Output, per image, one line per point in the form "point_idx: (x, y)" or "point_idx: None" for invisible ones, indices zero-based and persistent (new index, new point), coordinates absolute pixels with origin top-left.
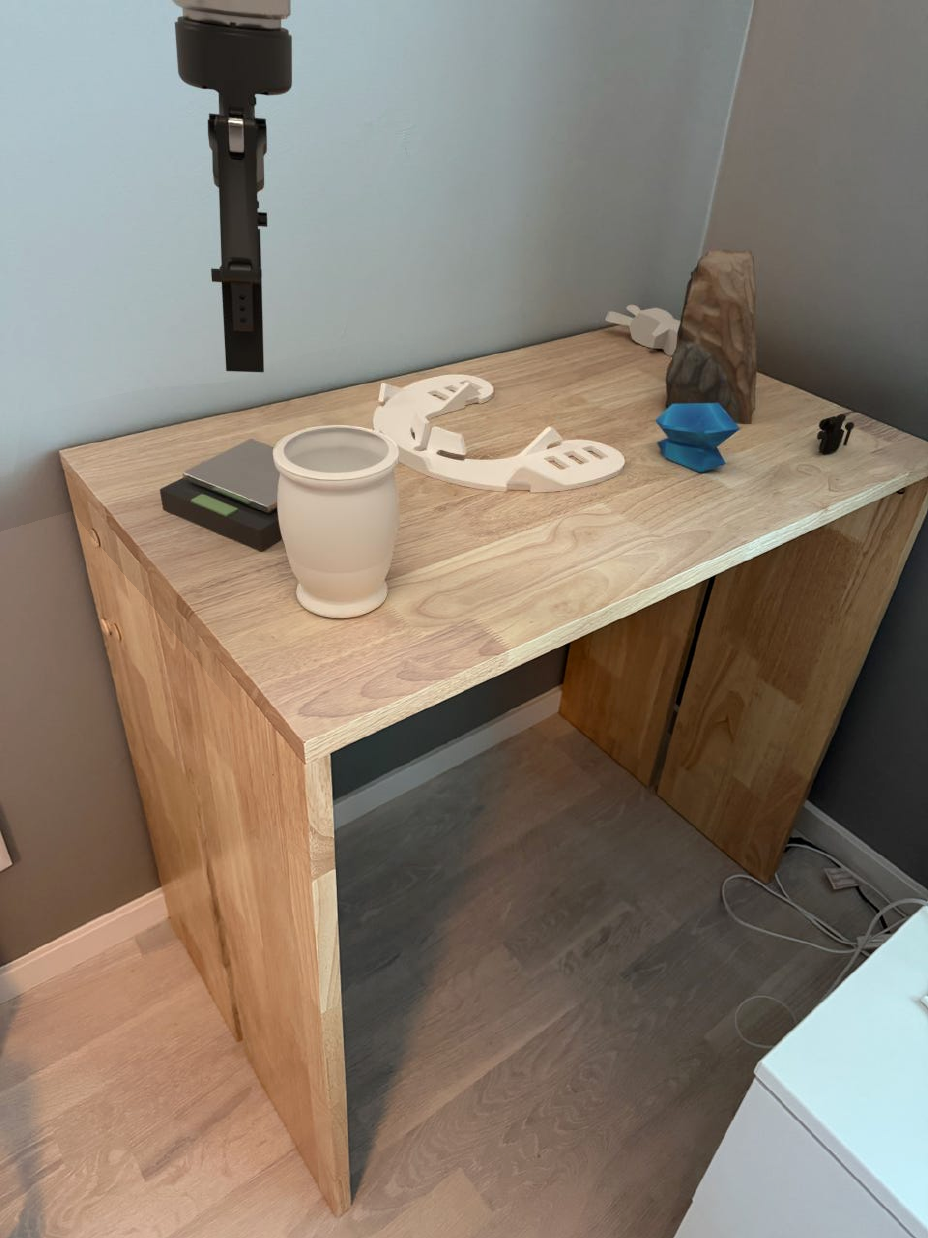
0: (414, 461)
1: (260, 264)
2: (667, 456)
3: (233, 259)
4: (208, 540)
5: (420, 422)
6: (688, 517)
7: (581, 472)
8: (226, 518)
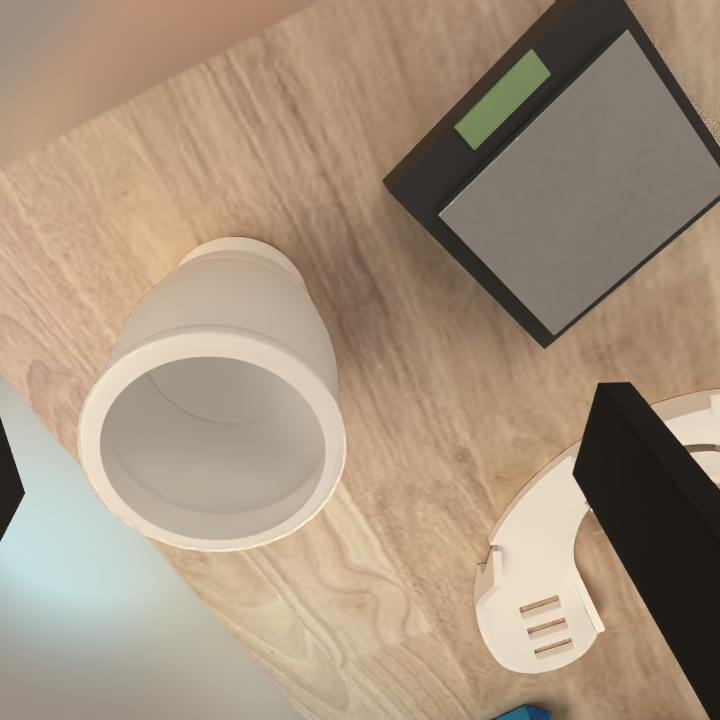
0: None
1: (648, 608)
2: (520, 710)
3: (693, 540)
4: (441, 78)
5: None
6: (379, 698)
7: (504, 627)
8: (451, 125)
